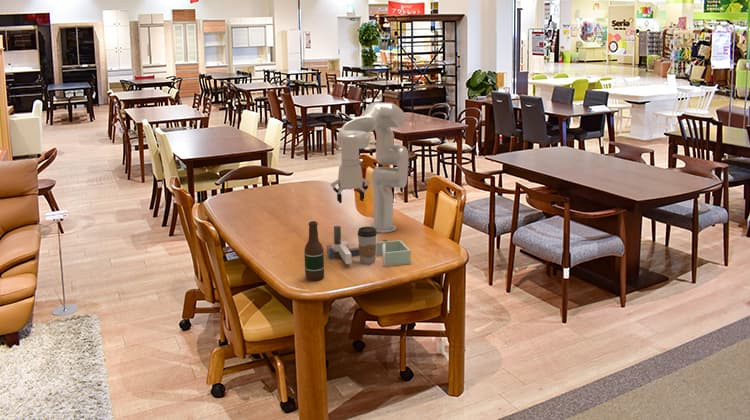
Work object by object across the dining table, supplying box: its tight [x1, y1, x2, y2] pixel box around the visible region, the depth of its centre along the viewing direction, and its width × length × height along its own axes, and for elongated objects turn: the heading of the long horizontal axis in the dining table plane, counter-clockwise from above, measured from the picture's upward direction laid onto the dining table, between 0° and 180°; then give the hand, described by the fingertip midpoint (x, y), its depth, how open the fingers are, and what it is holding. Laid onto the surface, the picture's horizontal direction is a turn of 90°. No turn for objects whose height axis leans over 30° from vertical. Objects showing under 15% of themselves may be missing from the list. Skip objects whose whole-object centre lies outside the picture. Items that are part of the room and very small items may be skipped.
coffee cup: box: [357, 226, 378, 265], centre depth 302 cm, size 8×8×15 cm
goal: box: [375, 235, 412, 268], centre depth 306 cm, size 15×12×10 cm
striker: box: [332, 225, 353, 265], centre depth 303 cm, size 17×6×12 cm, turn 15°
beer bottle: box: [303, 220, 325, 282], centre depth 284 cm, size 8×8×24 cm
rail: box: [326, 239, 388, 261], centre depth 313 cm, size 5×28×5 cm, turn 105°
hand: (350, 201), depth 303 cm, fingers open, 9 cm apart
